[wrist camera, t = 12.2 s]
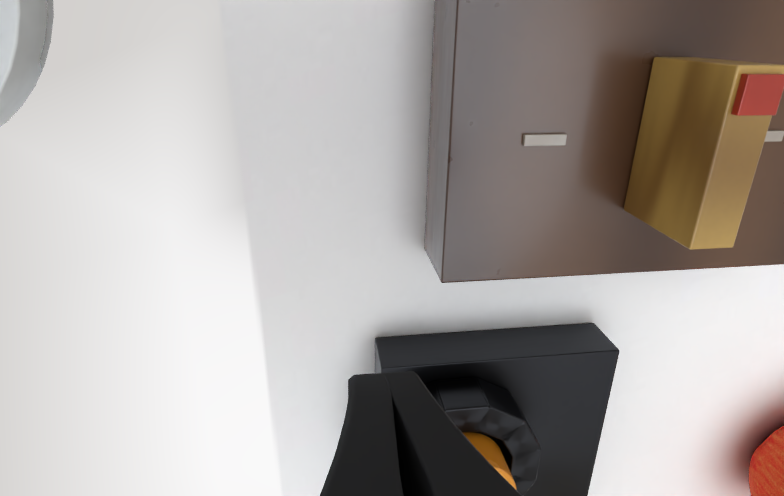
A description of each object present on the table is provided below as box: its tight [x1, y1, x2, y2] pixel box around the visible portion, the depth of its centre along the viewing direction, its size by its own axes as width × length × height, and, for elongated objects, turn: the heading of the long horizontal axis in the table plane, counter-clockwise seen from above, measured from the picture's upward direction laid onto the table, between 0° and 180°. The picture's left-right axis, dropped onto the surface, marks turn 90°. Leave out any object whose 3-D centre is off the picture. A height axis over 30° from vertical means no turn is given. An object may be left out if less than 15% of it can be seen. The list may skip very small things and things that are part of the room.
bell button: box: [463, 432, 517, 490], centre depth 20 cm, size 4×4×2 cm
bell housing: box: [375, 323, 619, 496], centre depth 23 cm, size 10×12×4 cm
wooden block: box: [624, 57, 784, 249], centre depth 15 cm, size 5×1×4 cm, turn 179°
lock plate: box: [425, 0, 784, 283], centre depth 18 cm, size 14×10×3 cm
